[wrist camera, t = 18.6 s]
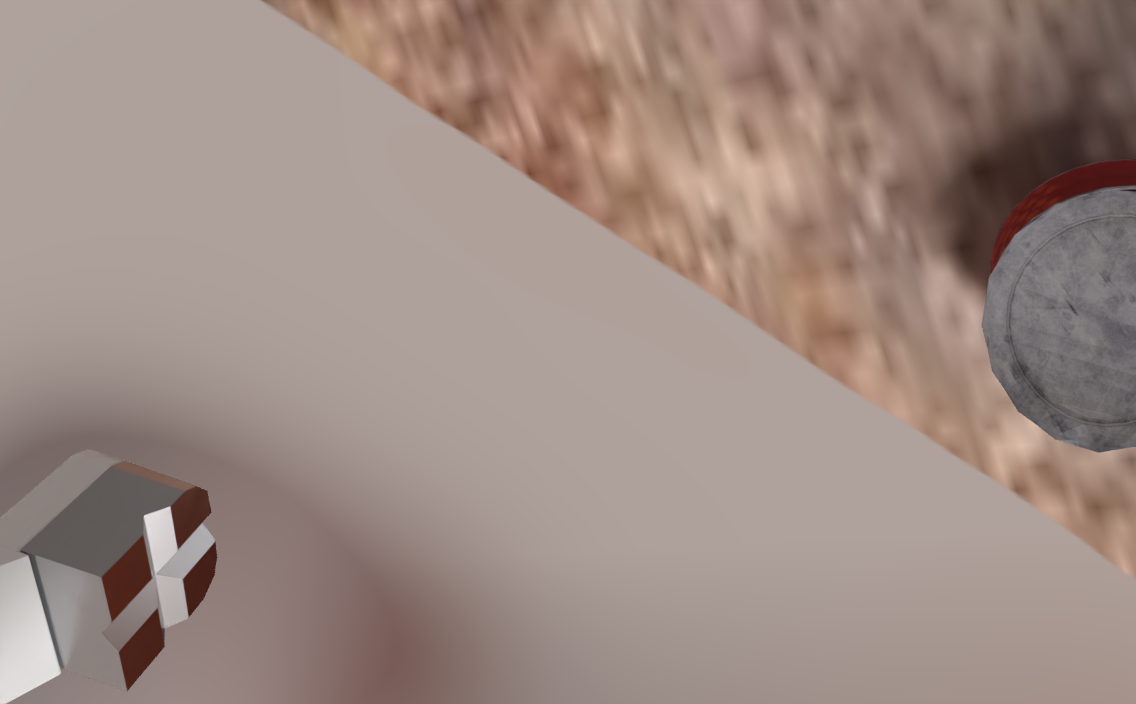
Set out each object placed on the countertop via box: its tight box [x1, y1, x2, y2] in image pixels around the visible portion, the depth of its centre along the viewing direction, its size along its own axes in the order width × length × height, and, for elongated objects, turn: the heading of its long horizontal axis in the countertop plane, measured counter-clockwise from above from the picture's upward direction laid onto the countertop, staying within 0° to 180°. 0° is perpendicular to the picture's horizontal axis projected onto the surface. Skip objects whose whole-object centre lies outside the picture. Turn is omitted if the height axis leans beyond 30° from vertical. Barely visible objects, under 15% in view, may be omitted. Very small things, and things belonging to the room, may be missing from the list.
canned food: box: [982, 159, 1136, 453], centre depth 45 cm, size 11×10×10 cm
